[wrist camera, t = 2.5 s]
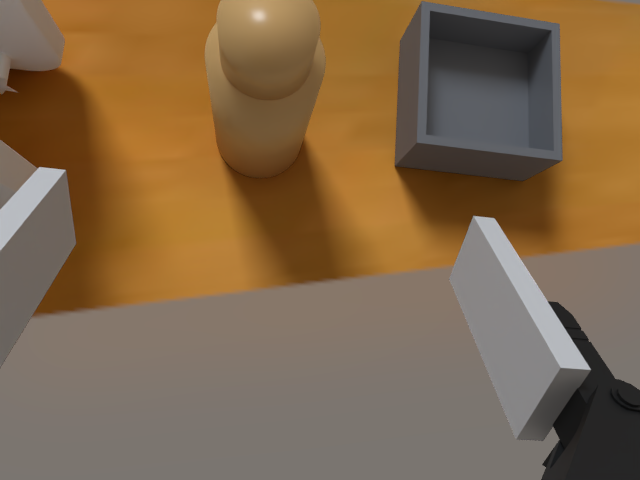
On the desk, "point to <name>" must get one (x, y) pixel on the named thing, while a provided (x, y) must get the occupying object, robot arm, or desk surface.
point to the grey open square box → (478, 94)
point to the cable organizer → (24, 54)
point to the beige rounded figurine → (263, 81)
